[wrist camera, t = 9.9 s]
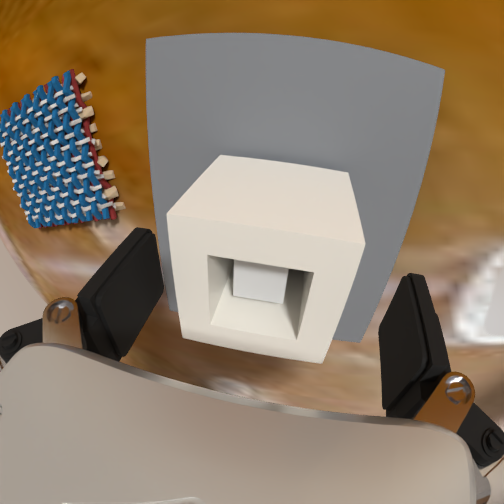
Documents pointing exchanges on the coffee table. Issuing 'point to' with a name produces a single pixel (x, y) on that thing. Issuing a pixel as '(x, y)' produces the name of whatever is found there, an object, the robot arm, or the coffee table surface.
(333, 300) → the collar
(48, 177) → the woven mat
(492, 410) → the coffee table surface
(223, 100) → the shaft block
